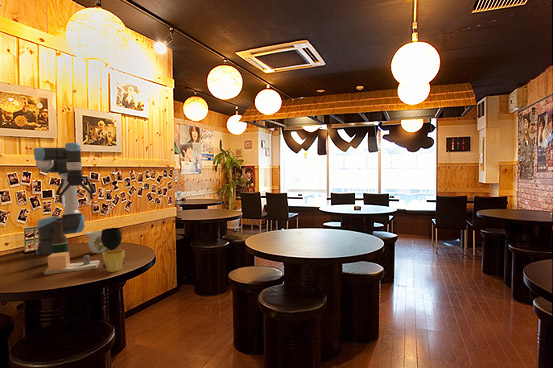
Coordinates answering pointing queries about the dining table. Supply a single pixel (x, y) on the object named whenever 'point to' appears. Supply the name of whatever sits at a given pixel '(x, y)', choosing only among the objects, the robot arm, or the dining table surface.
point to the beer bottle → (59, 239)
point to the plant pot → (113, 260)
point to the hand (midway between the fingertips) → (77, 206)
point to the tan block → (58, 261)
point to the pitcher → (95, 242)
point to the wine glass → (111, 238)
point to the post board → (76, 266)
